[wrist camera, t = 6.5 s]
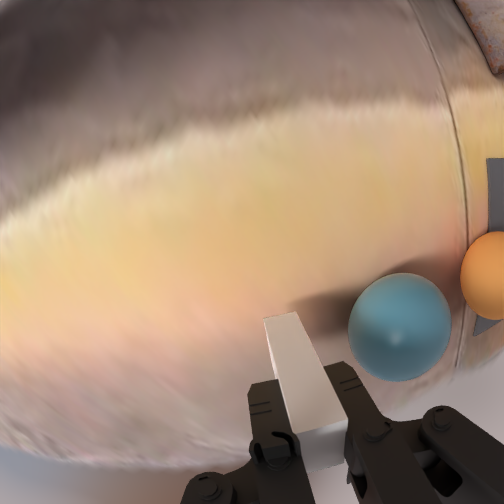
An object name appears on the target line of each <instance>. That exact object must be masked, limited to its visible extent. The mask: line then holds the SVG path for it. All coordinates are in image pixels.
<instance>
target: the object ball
mask: <svg viewBox="0 0 504 504" xmlns="http://www.w3.org/2000/svg"><path fill="white" fill-rule="evenodd" d="M460 282H461V289H462V292H463V295H464V298H465V300H466V302H467V303H468V305H469V306H470V308H471V309H472V310H473V311H474V312H475V313H477V314H478V315H480V316H481V317H484V318H487V319H491V320H499V319H504V232H501V231H496V232H490V233H487V234H485V235H483V236H481V237H479V238H478V239H477V240H476V241H475V242H474V243H473V244H472V245H471V246H470V247H469V249H468V251H467V252H466V254H465V257H464V259H463V262H462V266H461V273H460Z"/></svg>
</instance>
